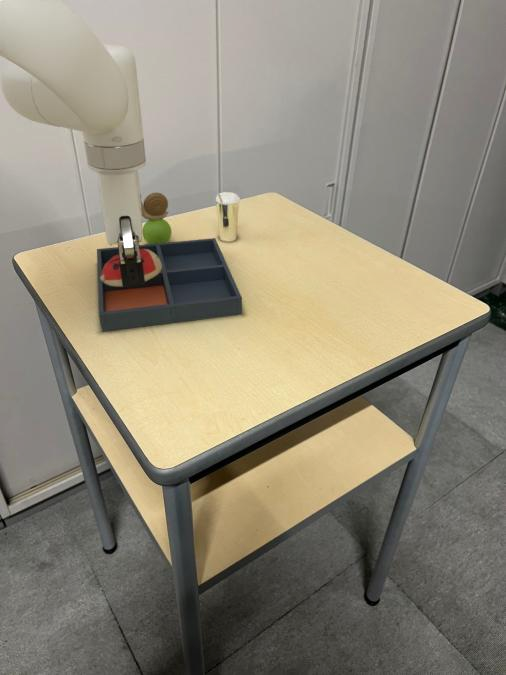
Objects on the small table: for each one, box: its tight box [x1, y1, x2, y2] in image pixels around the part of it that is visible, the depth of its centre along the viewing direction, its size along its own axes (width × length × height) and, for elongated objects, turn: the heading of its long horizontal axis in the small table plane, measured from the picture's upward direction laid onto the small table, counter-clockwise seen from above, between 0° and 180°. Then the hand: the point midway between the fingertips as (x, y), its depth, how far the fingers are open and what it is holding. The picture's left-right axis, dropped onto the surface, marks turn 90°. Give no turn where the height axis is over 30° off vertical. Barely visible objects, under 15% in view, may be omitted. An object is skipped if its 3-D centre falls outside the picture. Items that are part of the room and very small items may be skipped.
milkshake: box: [215, 191, 241, 243], centre depth 99 cm, size 4×5×10 cm
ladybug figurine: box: [100, 249, 162, 287], centre depth 78 cm, size 7×10×4 cm
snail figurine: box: [140, 192, 173, 244], centre depth 96 cm, size 5×6×12 cm
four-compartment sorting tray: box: [96, 237, 243, 333], centre depth 86 cm, size 21×21×3 cm
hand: (132, 271), depth 78 cm, fingers closed on ladybug figurine, 7 cm apart
